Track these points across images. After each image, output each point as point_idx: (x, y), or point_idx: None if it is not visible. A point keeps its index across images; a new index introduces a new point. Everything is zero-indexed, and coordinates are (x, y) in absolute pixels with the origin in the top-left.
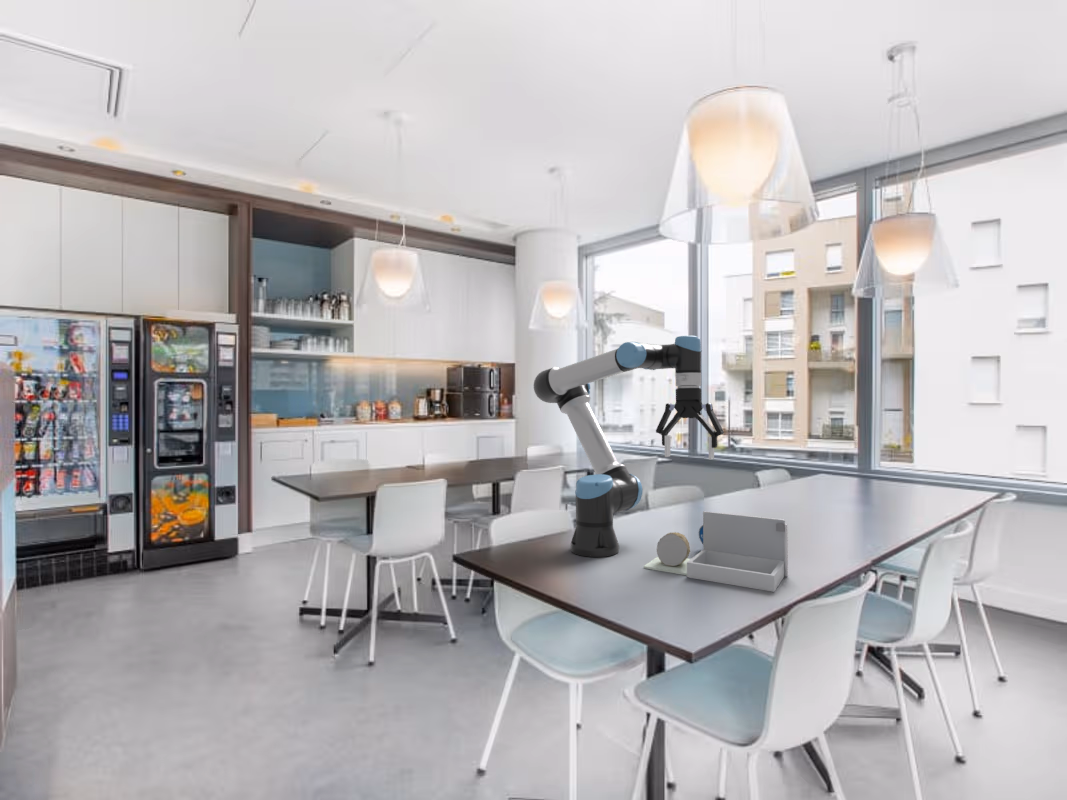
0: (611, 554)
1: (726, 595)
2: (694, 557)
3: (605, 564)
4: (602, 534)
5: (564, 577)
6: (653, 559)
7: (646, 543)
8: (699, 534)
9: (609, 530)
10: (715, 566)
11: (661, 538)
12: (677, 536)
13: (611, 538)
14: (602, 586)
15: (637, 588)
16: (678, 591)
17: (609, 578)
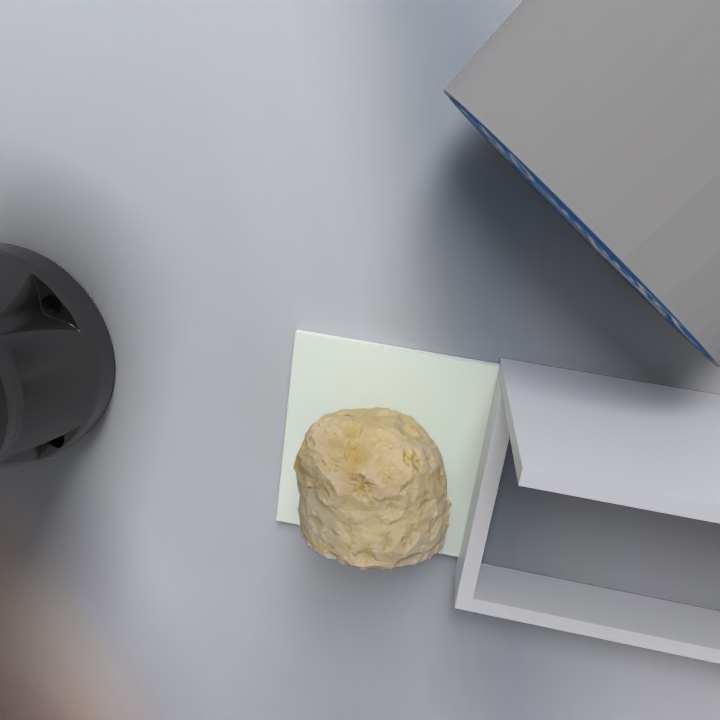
0: (105, 405)
1: (605, 703)
2: (476, 535)
3: (136, 514)
4: (17, 453)
5: (84, 674)
6: (286, 423)
7: (165, 113)
8: (449, 96)
9: (23, 421)
10: (574, 630)
11: (312, 548)
12: (390, 567)
13: (58, 411)
14: (220, 717)
15: (322, 709)
16: (449, 705)
17: (210, 648)
